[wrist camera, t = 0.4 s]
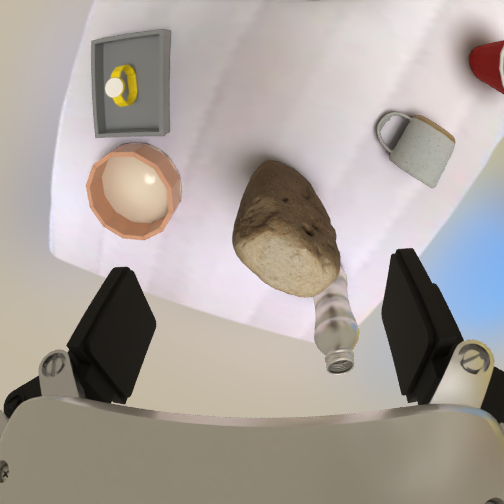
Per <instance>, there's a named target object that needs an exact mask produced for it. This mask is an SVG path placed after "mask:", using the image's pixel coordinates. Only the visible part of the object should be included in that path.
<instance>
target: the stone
mask: <svg viewBox="0 0 504 504" xmlns="http://www.w3.org/2000/svg"><path fill="white" fill-rule="evenodd" d="M232 243H233V247H234V250H235V252H236V255H237V256H238V257H239V259H240V260H241V262H242V263H243V264H245V265H246V266H247V267H248V268H249V269H250V270H251V271H252V272H253V273H255V274H256V275H257V276H258V277H259V278H260V279H261V280H262V281H263V282H264V283H265V284H268V285H270V286H271V287H273V288H274V289H277V290H280V291H283V292H285V293H287V294H291V295H295V296H298V297H313V296H316V295H318V294H320V293H321V292H322V291H324V290H325V289H326V288H327V287H328V286H330V285H331V284H332V283H333V282H334V281H335V280H336V279H337V277H338V275H339V273H340V252H339V250H338V248H337V244H336V233H335V229H334V228H333V227H332V225H331V223H330V218H329V216H328V214H327V212H326V209H325V208H324V206H323V204H322V202H321V200H320V199H319V198H318V196H317V195H316V193H315V191H314V189H313V187H312V186H311V184H310V183H309V182H308V181H307V180H306V179H305V178H304V177H303V176H302V175H301V174H300V173H298V172H297V171H296V170H294V169H292V168H290V167H288V166H286V165H284V164H282V163H279V162H276V161H271V160H269V161H266V162H264V163H263V164H261V165H260V167H259V168H258V169H257V170H256V171H255V173H254V174H253V175H252V177H251V179H250V181H249V183H248V185H247V187H246V190H245V192H244V194H243V197H242V200H241V203H240V207H239V210H238V214H237V217H236V220H235V224H234V230H233V236H232Z"/></svg>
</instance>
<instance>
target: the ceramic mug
mask: <svg viewBox="0 0 504 504" xmlns="http://www.w3.org/2000/svg"><path fill="white" fill-rule="evenodd" d="M396 115H398V116H402V117H404V118H406V119H408V120H409V121H410V122H409V124H408V125H407V127H406V129H405V130H404V132H403V135H402V136H401V138H400V139H399V141H398V142H397V144H396V146H395V148H394V149H393V150H391V149H390V148H389V147H388V146H387V145H386V144H385V143H384V142H383V140H382V137H381V133H380V131H381V129H382V127H383V126H384V124H385V123H386V122H387V121H389V120H390V118H391V117H392V116H396ZM377 135H378V139H379V141H380V142H381V144H382V145H383V147H384V148H385V149H386V150H387V151H389V152H390V156H389V159H390V160H391V161H392V162H393V163H394V164H395V165H397V166H398V167H400V168H401V169H403V170H404V171H405V172H407V173H409V174H410V175H411V176H413V177H415V178H416V179H418V180H419V181H421V182H422V183H424V184H426V185H427V186H429V187H431V188H434V187H435V186H436V184H437V182H438V180H439V179H440V177H441V175H442V173H443V171H444V169H445V167H446V165H447V162H448V160H449V158H450V157H451V155H452V152H453V150H454V146H455V139H454V137H453V136H452V135H451V134H450V133H449V132H447V131H446V130H445V129H443V128H442V127H440V126H439V125H437V124H436V123H434V122H432V121H431V120H429V119H427V118H425V117H423V116H420V115H417V116H414V117H413V118H410V117H409V116H407V115H405V114H403V113H399V112H391V113H388V114H386V115H385V116H384V117H383V118H382V119H381V120H380V122H379V123H378V126H377Z"/></svg>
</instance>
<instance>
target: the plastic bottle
mask: <svg viewBox="0 0 504 504" xmlns="http://www.w3.org/2000/svg"><path fill="white" fill-rule="evenodd" d="M313 299H314V304H315V311H316V312H315V313H316V321H315V333H314V341H315V343H316V345H317V347H318V349H319V350H320V351H321V352H322V353H323V354H325V355H326V357H325V361H326V367H327V371H328V372H329V373H331V374H335V375H338V374H344V373H347V372H349V371H350V370H351V369H352V368H353V367H354V359H353V358H354V354H353V351H352V350H353V349H354V347H355V346H356V344H357V342H358V339H359V329H358V325H357V323H356V320H355V318H354V316H353V313H352V311H351V307H350V304H349V301H348V293H347V276H346V273H345V271H344V270H343V268H342V267H341V266H340V273H339V275H338V277H337V279H336V280H335V281H334V282H333V283H332V284H331V285H330V286H328V287H327V288H326V289H325V290H324V291H322V292H321V293H320V294H318V295H316V296H313Z"/></svg>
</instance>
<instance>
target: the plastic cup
mask: <svg viewBox="0 0 504 504" xmlns="http://www.w3.org/2000/svg"><path fill="white" fill-rule="evenodd" d="M470 66H471V69H472V71H473V73H474V75H475V76H476V77H477V78H479V79H480V80H481V81H482V82H484V83H486V84H488V85H490V86H491V87H492V88H494V89H496V90H497V91H499V92H501V93H502V94H504V41H498V42H493V43H488V44H485V45H482V46H477V47H476V48H475V49H473V50H472V52H471V54H470Z"/></svg>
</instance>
